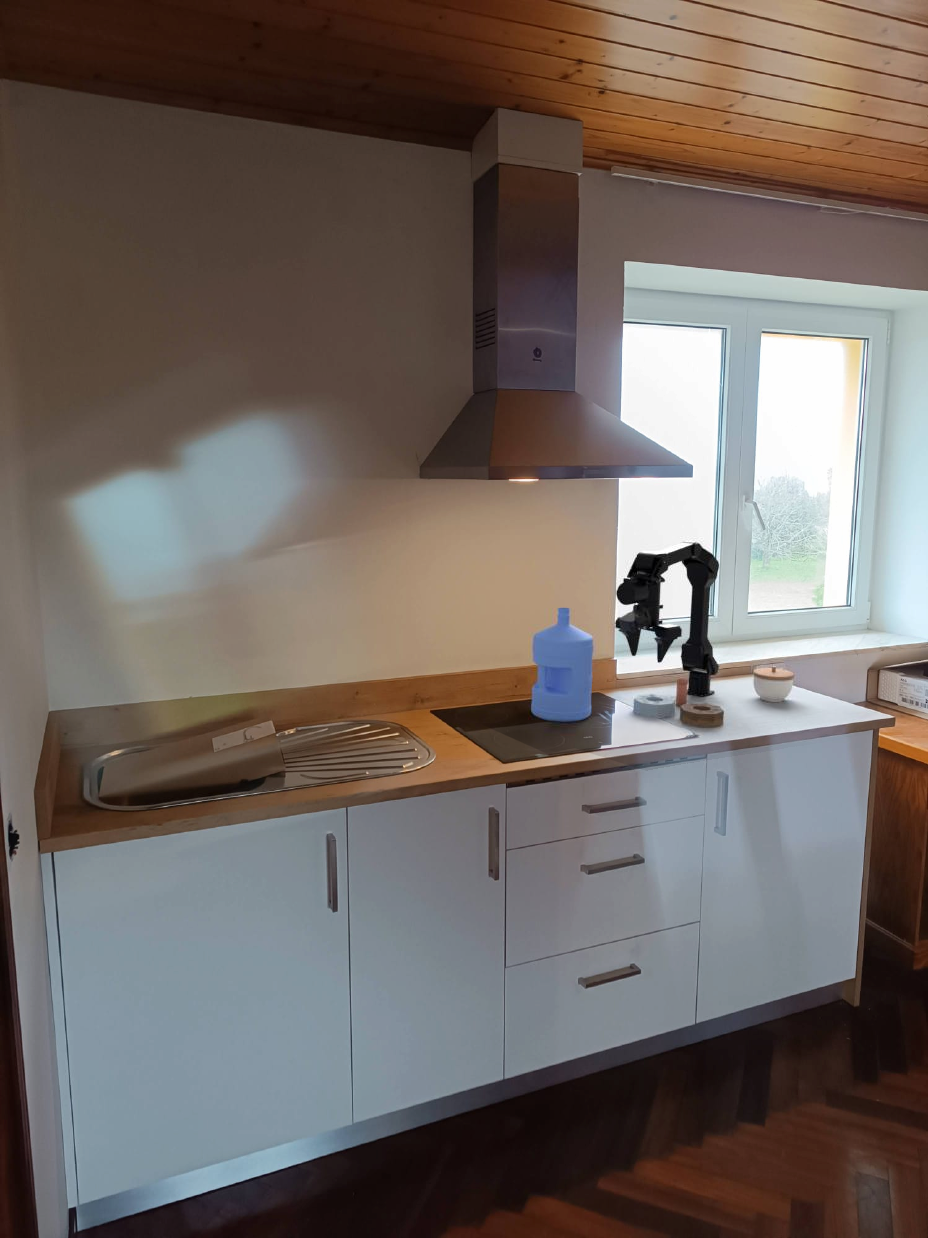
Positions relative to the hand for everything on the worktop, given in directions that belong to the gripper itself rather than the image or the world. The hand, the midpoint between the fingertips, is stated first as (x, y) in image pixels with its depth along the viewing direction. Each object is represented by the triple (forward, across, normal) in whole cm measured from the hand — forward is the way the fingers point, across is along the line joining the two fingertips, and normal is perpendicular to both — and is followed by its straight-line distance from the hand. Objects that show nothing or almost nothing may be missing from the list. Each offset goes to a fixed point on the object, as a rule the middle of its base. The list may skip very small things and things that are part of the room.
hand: (646, 659), depth 225 cm
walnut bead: (+14, +15, +5) cm, 21 cm away
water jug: (+14, -10, -21) cm, 27 cm away
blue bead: (+14, +2, +1) cm, 14 cm away
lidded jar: (+15, +11, +39) cm, 43 cm away
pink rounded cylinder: (+14, +2, +12) cm, 19 cm away
